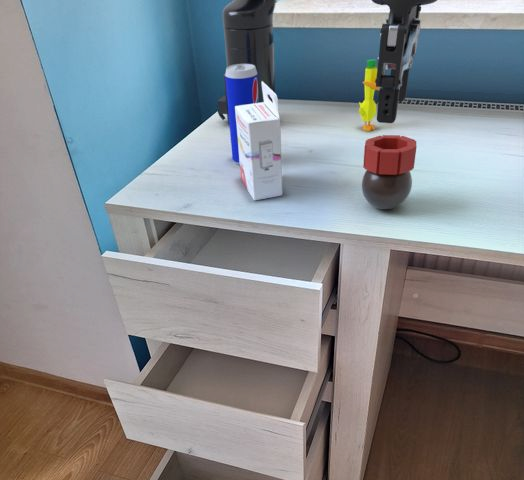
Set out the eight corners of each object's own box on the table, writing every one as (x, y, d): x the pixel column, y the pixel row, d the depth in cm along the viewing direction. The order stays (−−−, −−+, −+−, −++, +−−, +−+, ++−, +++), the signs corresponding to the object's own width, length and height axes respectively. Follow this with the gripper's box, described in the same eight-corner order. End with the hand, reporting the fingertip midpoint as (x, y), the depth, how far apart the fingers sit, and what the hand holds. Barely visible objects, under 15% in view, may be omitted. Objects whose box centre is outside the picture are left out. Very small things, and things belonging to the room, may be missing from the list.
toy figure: (388, 131, 99) (396, 61, 92) (375, 136, 98) (382, 65, 90) (363, 123, 104) (368, 55, 96) (350, 127, 102) (354, 59, 94)
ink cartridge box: (239, 180, 86) (231, 83, 76) (267, 175, 87) (263, 79, 77) (253, 201, 80) (246, 99, 70) (283, 196, 80) (281, 94, 71)
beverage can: (262, 165, 90) (258, 70, 80) (233, 167, 90) (224, 72, 80) (260, 154, 94) (256, 62, 84) (232, 156, 94) (224, 64, 84)
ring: (362, 174, 70) (363, 151, 68) (365, 156, 75) (366, 134, 74) (413, 175, 69) (416, 152, 67) (413, 156, 74) (416, 135, 72)
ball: (355, 215, 75) (359, 167, 70) (364, 194, 80) (368, 148, 75) (405, 220, 73) (412, 172, 68) (411, 199, 78) (418, 152, 73)
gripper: (385, -58, 60) (371, 92, 71) (361, -45, 50) (349, 128, 61) (453, -60, 58) (428, 95, 69) (441, -46, 48) (415, 132, 59)
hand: (391, 110), depth 65 cm, fingers open, 8 cm apart
